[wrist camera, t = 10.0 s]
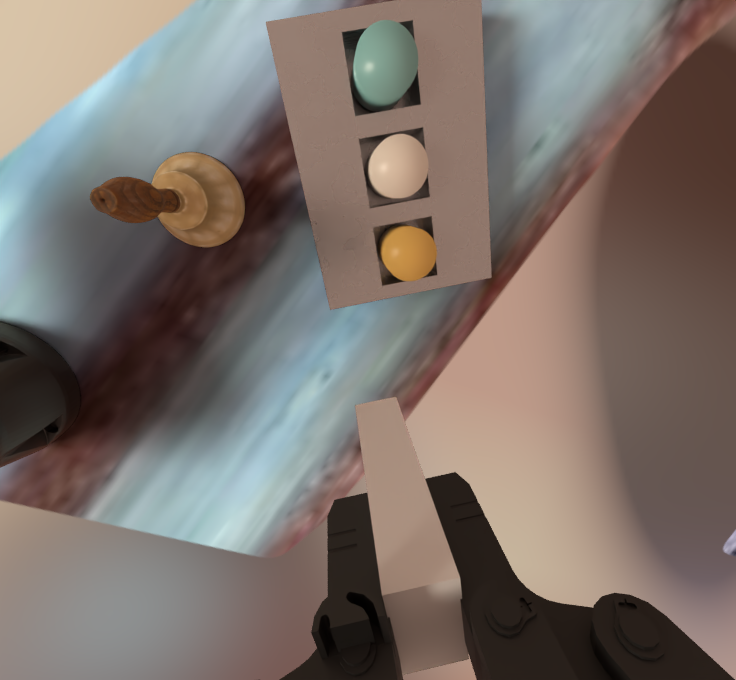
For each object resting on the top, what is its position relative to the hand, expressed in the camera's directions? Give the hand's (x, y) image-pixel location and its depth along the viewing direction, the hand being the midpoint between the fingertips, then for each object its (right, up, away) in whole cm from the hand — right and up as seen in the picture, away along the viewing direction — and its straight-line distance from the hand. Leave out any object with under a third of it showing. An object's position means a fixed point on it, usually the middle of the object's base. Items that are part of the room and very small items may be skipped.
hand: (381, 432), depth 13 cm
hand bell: (-16, +17, +20) cm, 31 cm away
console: (+1, +20, +21) cm, 29 cm away
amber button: (+3, +12, +22) cm, 25 cm away
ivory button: (+2, +19, +19) cm, 27 cm away
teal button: (0, +25, +16) cm, 30 cm away
